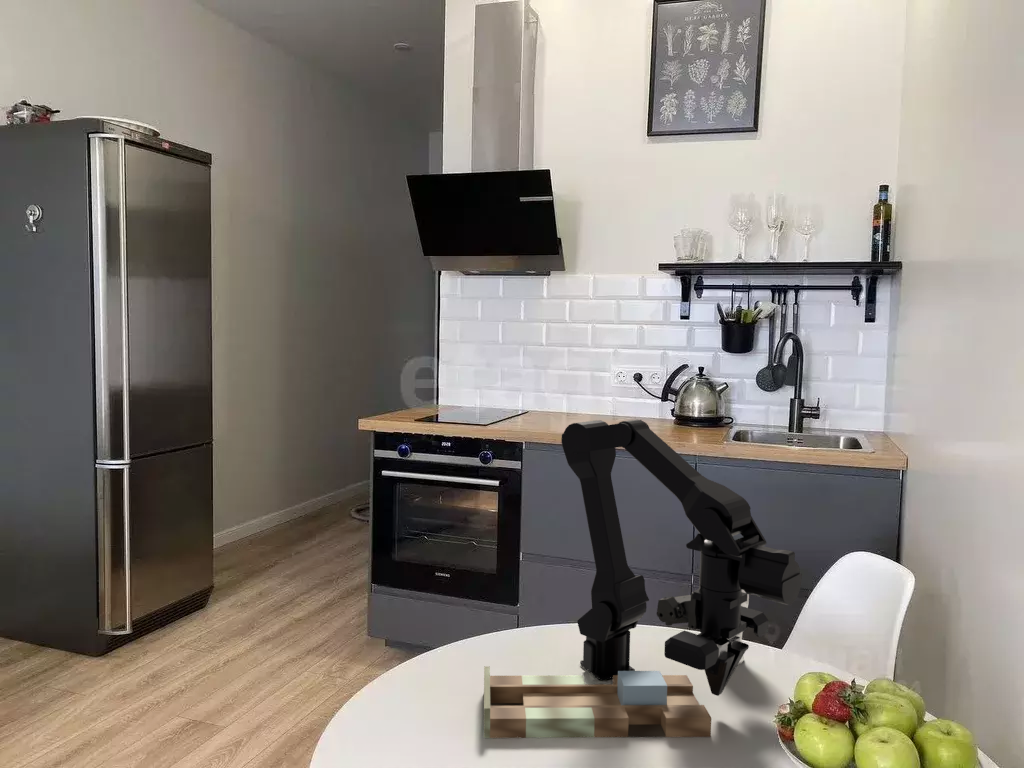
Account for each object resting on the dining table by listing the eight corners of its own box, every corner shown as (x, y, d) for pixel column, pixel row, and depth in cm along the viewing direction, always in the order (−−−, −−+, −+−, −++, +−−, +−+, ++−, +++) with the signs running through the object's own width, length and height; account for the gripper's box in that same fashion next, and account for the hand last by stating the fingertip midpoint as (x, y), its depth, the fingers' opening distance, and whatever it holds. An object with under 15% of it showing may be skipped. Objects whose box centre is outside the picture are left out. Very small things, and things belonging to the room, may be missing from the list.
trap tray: (686, 692, 114) (687, 665, 113) (710, 736, 101) (711, 707, 101) (483, 692, 113) (484, 666, 112) (483, 737, 100) (484, 708, 100)
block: (659, 694, 110) (659, 670, 109) (666, 710, 105) (667, 685, 105) (617, 694, 109) (617, 670, 109) (622, 710, 105) (623, 685, 105)
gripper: (703, 558, 119) (700, 656, 120) (633, 586, 105) (629, 696, 106) (772, 575, 111) (767, 680, 112) (705, 608, 98) (701, 726, 99)
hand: (716, 694), depth 108 cm, fingers closed
